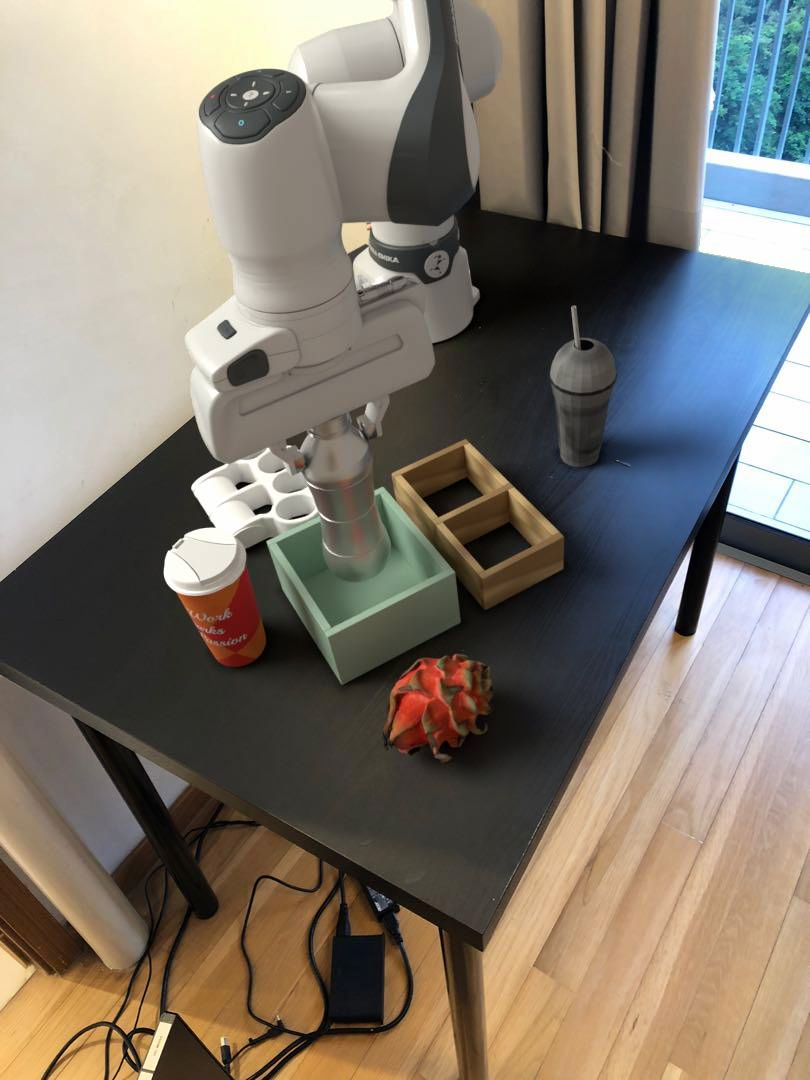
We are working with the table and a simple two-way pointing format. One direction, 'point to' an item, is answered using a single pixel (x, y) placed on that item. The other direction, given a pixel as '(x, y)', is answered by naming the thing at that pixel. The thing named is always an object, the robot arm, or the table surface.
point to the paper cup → (217, 594)
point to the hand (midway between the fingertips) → (333, 452)
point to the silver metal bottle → (345, 499)
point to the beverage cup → (581, 396)
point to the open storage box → (368, 594)
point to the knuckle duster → (255, 498)
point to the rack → (479, 522)
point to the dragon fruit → (437, 704)
